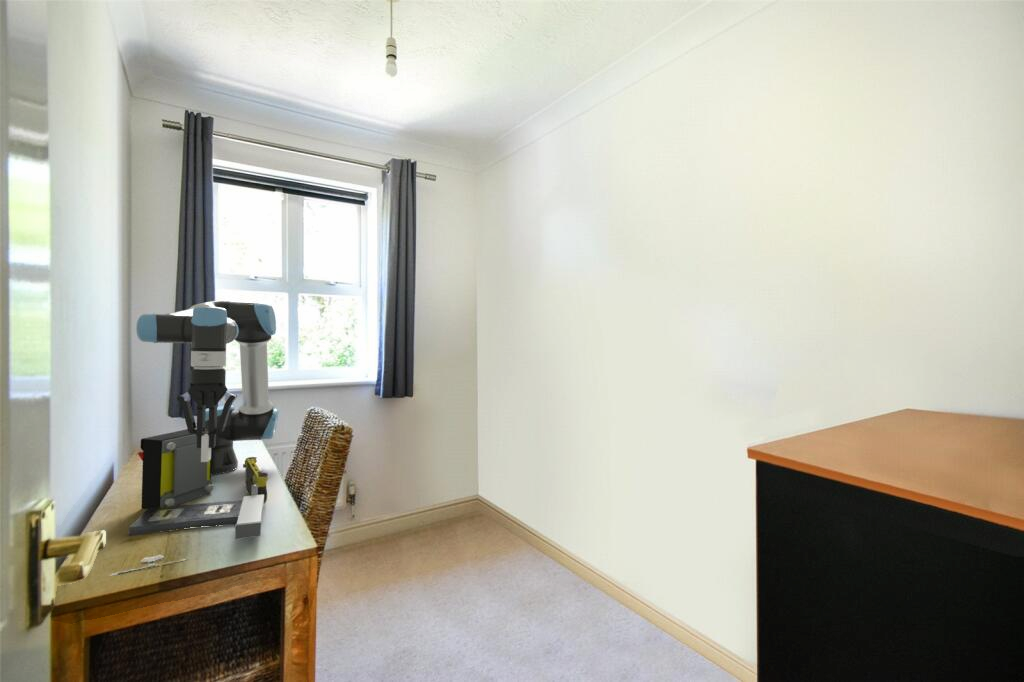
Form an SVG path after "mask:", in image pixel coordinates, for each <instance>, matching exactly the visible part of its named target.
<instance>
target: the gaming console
mask: <svg viewBox="0 0 1024 682" xmlns="http://www.w3.org/2000/svg"><path fill="white" fill-rule="evenodd" d="M257 462H258V461H257V456H249V457H246V458H245V460H244V463H243V464H242V468H243V469H244V471H245V472H244V473H245V474H244V475H245V477H244V478H245V479H244V480H245V481H244V483H245V489H246V491H248V492H247V493H249V494H248V496H251V485H255V484H257V485H258V495H263V494H264V505H266V503H267V500H268V489H267V482H268V480H269V473H268V472H265V471H261V469H260V468H259V467H258V465H257Z"/></svg>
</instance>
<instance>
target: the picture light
mask: <svg viewBox="0 0 1024 682" xmlns="http://www.w3.org/2000/svg"><path fill="white" fill-rule="evenodd" d="M162 558H164V559H165V556H164V555H163V554H157V555H154V556H149V557H143V558H142V559H141V560H140V563H141V562H147V563H148V564H147V566H143V567H139V568H133V569H128V570H123V571H118V572H115V573H114V572H113V573H111V574H110V575H108V577H113V576H119V575H122V574H128V573H132V571H133V572H138V571H142V570H141V569H143V570H146V569H145V568H148V569H152V568H151V567H153V568H156V567H155V566H158V567H160V566H159V565H163V566H165V565H164V564H167V563H171V562H172V561H167V562H165V563H159V564H156V563H152V561H153V562H157V561H159V560H158V559H161V560H163V559H162ZM156 560H157V561H156ZM182 560H186V558H183V559H182ZM137 570H138V571H137Z"/></svg>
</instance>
